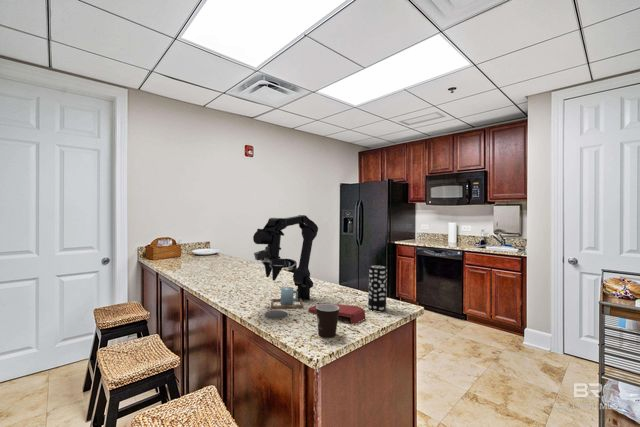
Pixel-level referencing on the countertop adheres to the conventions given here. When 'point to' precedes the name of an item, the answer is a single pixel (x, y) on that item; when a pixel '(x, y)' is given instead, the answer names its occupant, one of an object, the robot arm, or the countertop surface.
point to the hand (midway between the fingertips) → (270, 278)
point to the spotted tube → (377, 288)
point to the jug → (288, 295)
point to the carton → (347, 312)
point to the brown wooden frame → (286, 305)
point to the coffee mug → (327, 320)
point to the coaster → (276, 314)
